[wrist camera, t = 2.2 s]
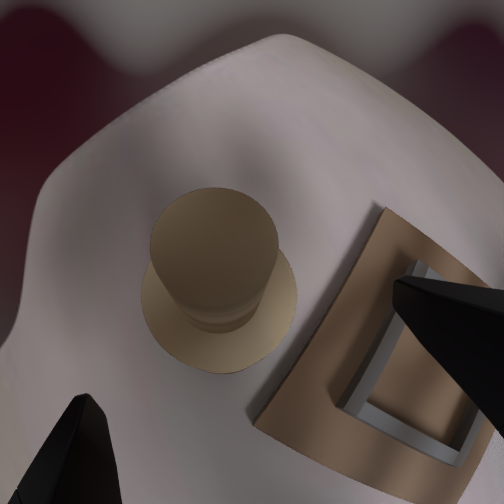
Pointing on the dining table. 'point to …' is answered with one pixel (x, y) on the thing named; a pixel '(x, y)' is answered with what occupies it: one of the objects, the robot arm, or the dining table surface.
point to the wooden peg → (217, 282)
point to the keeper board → (382, 382)
